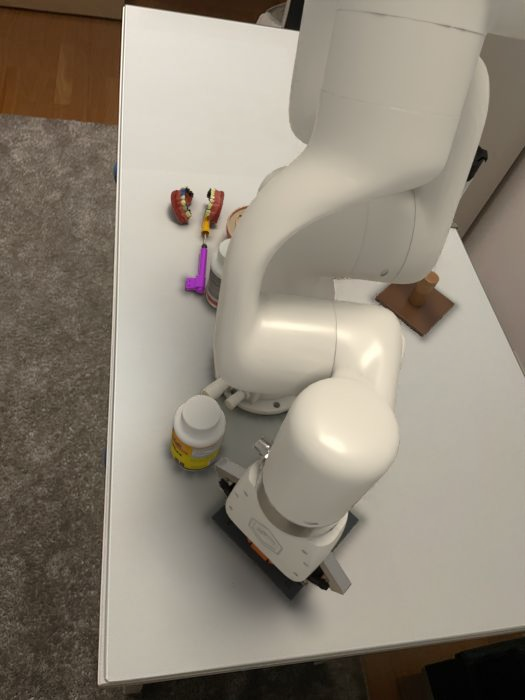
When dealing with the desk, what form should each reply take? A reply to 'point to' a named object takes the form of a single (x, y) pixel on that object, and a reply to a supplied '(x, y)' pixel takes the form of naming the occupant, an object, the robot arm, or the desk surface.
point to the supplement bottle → (197, 433)
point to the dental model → (184, 198)
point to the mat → (265, 566)
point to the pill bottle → (216, 274)
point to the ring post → (416, 303)
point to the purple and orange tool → (200, 279)
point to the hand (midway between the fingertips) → (265, 544)
